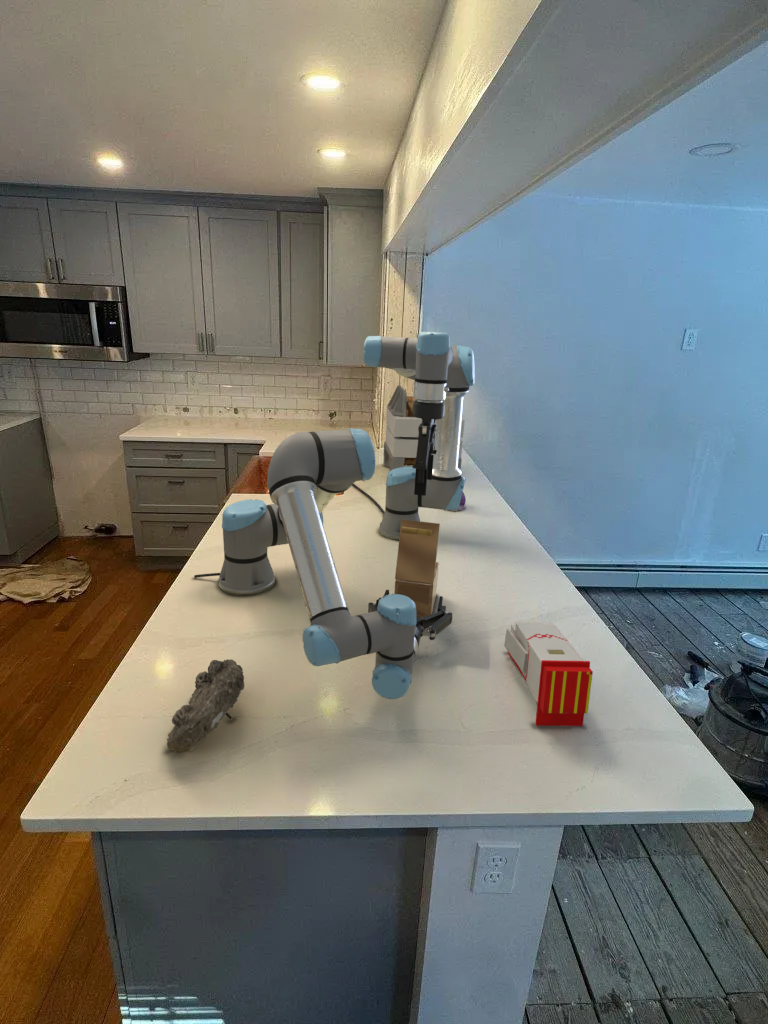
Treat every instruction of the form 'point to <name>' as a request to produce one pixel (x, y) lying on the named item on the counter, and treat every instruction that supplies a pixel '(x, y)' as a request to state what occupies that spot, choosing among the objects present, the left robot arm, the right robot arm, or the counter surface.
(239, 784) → the counter surface
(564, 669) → the toy
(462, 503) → the figurine
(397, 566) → the lid
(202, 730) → the fossil
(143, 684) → the counter surface
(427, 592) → the chest
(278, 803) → the counter surface
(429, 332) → the right robot arm
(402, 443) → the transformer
